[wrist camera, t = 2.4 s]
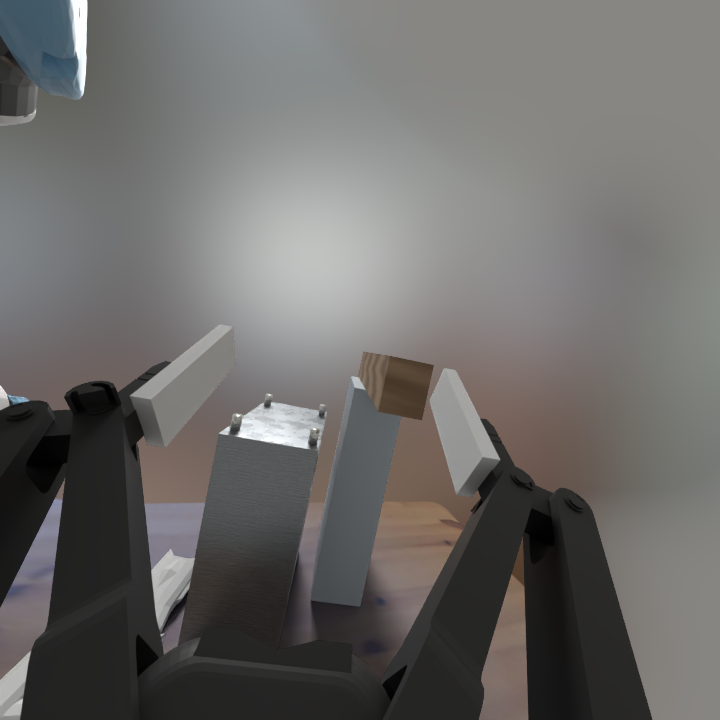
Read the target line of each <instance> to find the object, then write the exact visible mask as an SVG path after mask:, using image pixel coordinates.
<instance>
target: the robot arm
mask: <svg viewBox="0 0 720 720" xmlns="http://www.w3.org/2000/svg"><path fill="white" fill-rule="evenodd" d="M86 21H87V0H0V126H3V125H12V124H21V123H26V122H30V121H31V120H32V119H33V118H34V117H35V114H36V107H37V94H38V87H39V88H41V89H42V90H44V91H45V92H47V93H49V94H51V95H62V96H64V97H67V98H70V99H73V100H74V99H76V100H77V99H80V98H81V97H82V95H83V93H84V84H85V75H86V31H87V27H86ZM235 363H236V362H235V348H234V332H233V327H231V326H226V325H221V324H220V325H219V326H217V327H216V328H215V329H214V330H212V331H211V332H210V333H209V334H207V335H206V336H205V337H203V338H202V339H201V340H200V341H198V342H197V343H196V344H195V345H193V346H192V347H191V348H190V349H188V350H187V351H186V352H185V353H183V354H182V355H181V356H180V357H178V358H177V359H176V360H174V361H173V362H167V361H165V362H162V363H160V364H158V365H155V366H153V367H152V368H150V369H149V370H148V371H146V372H145V374H142V375H141V376H140V377H138V379H135V380H134V381H133V382H131V383H130V384H129V385H127V386H126V387H125V388H123V389H122V390H121V391H119V392H118V393H117V390H116V388H115V386H114V384H113V383H110V382H107V381H94V382H89V383H84V384H81V385H79V386H76V387H74V388H72V389H71V390H70V391H68V392H67V393H66V395H65V397H64V398H65V400H66V402H67V404H68V406H69V407H70V409H71V410H56V411H52V410H51V408H50V406H49V405H48V404H47V403H46V402H43V401H29V400H28V399H27V398H24V397H15V396H13V395H7V394H6V392H5V391H4V390H3V388H2V387H1V386H0V607H1V605H2V603H3V601H4V599H5V597H6V595H7V593H8V591H9V589H10V587H11V585H12V583H13V581H14V579H15V577H16V575H17V573H18V571H19V569H20V567H21V565H22V563H23V561H24V559H25V557H26V555H27V553H28V551H29V549H30V547H31V545H32V543H33V541H34V539H35V537H36V535H37V533H38V531H39V529H40V527H41V525H42V523H43V521H44V519H45V517H46V515H47V513H48V511H49V509H50V507H51V505H52V503H53V501H54V499H55V497H56V495H57V493H58V491H59V489H60V487H61V485H62V483H63V481H64V479H65V486H64V494H63V502H62V510H61V519H60V527H59V535H58V543H57V552H56V560H55V568H54V576H53V584H52V593H51V601H50V609H49V617H48V623H47V627H46V629H45V632H44V633H43V634H42V635H41V636H40V637H39V638H38V639H36V641H35V643H34V645H33V647H32V650H31V654H30V658H29V662H28V669H27V675H26V682H25V689H24V695H23V702H22V709H21V715H20V720H479V716H480V713H481V709H482V704H483V699H484V687H483V685H482V682H481V675H482V671H483V667H484V664H485V660H486V657H487V654H488V651H489V647H490V644H491V641H492V637H493V634H494V631H495V627H496V624H497V621H498V617H499V614H500V611H501V607H502V604H503V601H504V597H505V594H506V591H507V587H508V584H509V581H510V577H511V574H512V570H513V567H514V563H515V560H516V557H517V554H518V551H519V547H520V544H521V540H522V537H523V551H524V582H525V583H524V584H525V617H526V650H527V682H528V715H529V720H652V717H651V713H650V710H649V706H648V703H647V699H646V696H645V692H644V689H643V685H642V682H641V678H640V675H639V672H638V668H637V664H636V661H635V658H634V654H633V650H632V647H631V644H630V640H629V637H628V633H627V630H626V626H625V623H624V619H623V616H622V612H621V609H620V606H619V602H618V598H617V595H616V591H615V588H614V584H613V581H612V578H611V574H610V571H609V567H608V563H607V560H606V557H605V553H604V550H603V546H602V542H601V539H600V535H599V532H598V528H597V525H596V522H595V518H594V515H593V512H592V510H591V508H590V506H589V505H588V504H587V503H586V501H585V500H584V499H582V498H581V497H580V496H579V495H578V494H576V493H574V492H573V491H571V490H568V489H566V488H559V489H558V490H556V491H555V492H554V493H552V492H549V491H547V490H545V489H542V488H540V487H538V486H536V485H535V483H534V481H533V480H532V479H531V477H530V476H529V475H528V474H527V473H525V472H524V471H523V470H521V469H519V468H517V467H515V466H514V463H513V461H512V460H511V458H510V456H509V454H508V452H507V450H506V449H505V447H504V445H503V444H502V441H501V440H500V437H498V434H497V432H496V430H495V428H494V427H493V426H492V425H491V424H490V423H489V422H488V421H487V420H486V419H481V418H479V416H478V414H477V412H476V410H475V408H474V406H473V404H472V402H471V400H470V398H469V396H468V394H467V392H466V390H465V388H464V386H463V384H462V382H461V380H460V378H459V376H458V374H457V372H456V371H455V370H451V369H446V368H444V370H443V372H442V374H441V377H440V379H439V381H438V383H437V385H436V388H435V390H434V392H433V395H432V397H431V399H430V404H431V408H432V411H433V415H434V418H435V422H436V425H437V429H438V432H439V436H440V439H441V443H442V446H443V450H444V453H445V457H446V460H447V464H448V467H449V471H450V474H451V477H452V480H453V485H454V488H455V492H456V494H457V495H461V496H468V497H473V495H474V494H475V493H476V491H477V490H478V491H479V494H480V496H481V499H480V500H479V501H478V502H477V504H476V505H475V506H474V507H473V509H472V510H471V511H472V514H471V516H470V518H469V520H468V522H467V523H466V525H465V527H464V529H463V531H462V533H461V535H460V537H459V539H458V540H457V542H456V544H455V546H454V548H453V550H452V552H451V554H450V556H449V558H448V559H447V561H446V563H445V565H444V567H443V569H442V571H441V573H440V575H439V577H438V578H437V580H436V582H435V584H434V586H433V588H432V590H431V592H430V594H429V596H428V597H427V599H426V601H425V603H424V605H423V607H422V609H421V611H420V613H419V614H418V616H417V618H416V620H415V622H414V624H413V626H412V628H411V630H410V632H409V633H408V635H407V637H406V639H405V641H404V643H403V645H402V646H401V648H400V650H399V651H398V653H397V654H396V656H395V657H394V659H393V660H392V662H391V663H390V665H389V667H388V669H387V670H386V672H385V674H384V676H383V678H382V680H381V681H379V679H378V678H377V677H376V675H375V674H374V673H373V671H372V670H371V669H370V668H369V667H368V666H367V665H366V664H365V663H364V662H363V661H362V660H360V659H359V658H358V657H356V656H355V655H353V654H352V644H345V643H336V642H328V641H319V640H316V641H313V642H309V643H305V644H301V645H297V646H293V647H290V648H286V649H282V650H275V649H273V648H271V647H269V646H267V645H265V644H264V643H262V642H260V641H258V640H256V639H255V638H253V637H251V636H249V635H248V634H246V633H244V632H242V631H234V630H226V629H217V628H209V627H205V628H204V631H203V633H202V636H201V637H199V638H195V639H192V640H190V641H187V642H185V643H183V644H181V645H179V646H177V647H175V648H174V649H172V650H170V651H169V652H167V653H166V654H165V655H164V654H163V646H162V639H161V634H160V630H159V627H158V623H157V618H156V611H155V602H154V592H153V583H152V573H151V563H150V554H149V544H148V535H147V525H146V516H145V506H144V496H143V488H142V477H141V468H140V458H139V449H138V445H137V442H138V441H139V440H140V439H141V438H142V437H143V436H144V437H145V440H146V443H147V445H152V446H159V447H164V448H165V447H166V446H167V445H168V444H169V443H170V442H171V441H172V439H173V438H174V437H175V436H176V435H177V433H178V432H179V431H180V430H181V429H182V428H183V426H184V425H185V424H186V423H187V422H188V421H189V419H190V418H191V417H192V416H193V415H194V413H195V412H196V411H197V410H198V409H199V407H200V406H201V405H202V404H203V403H204V402H205V401H206V399H207V398H208V397H209V396H210V394H211V393H212V392H213V391H214V390H215V389H216V387H217V386H218V385H219V384H220V383H221V382H222V380H223V379H224V378H225V377H226V376H227V375H228V373H229V372H230V371H231V370H232V369H233V367H234V366H235V365H236V364H235Z"/></svg>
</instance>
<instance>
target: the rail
mask: <svg viewBox="0 0 720 720" xmlns="http://www.w3.org/2000/svg"><path fill="white" fill-rule="evenodd" d="M432 371H433V365H430V364H426V363H421V362H416V361H411V360H407V359H402V358H397V357H392V356H387V355H380V354H374V353H368V352H363V356H362V361H361V366H360V371H359V375H358V376H359V379H360V381H361V382H362V384H363V386H364V388H365V390H366V391H367V393H368V395H369V397H370V398H371V400H372V402H373V404H374V405H375V407H376V409H377V411H378V412H382V413H387V414H392V415H398V416H403V417H408V418H413V419H418V420H422V416H423V412H424V408H425V403H426V398H427V394H428V389H429V385H430V380H431V375H432Z"/></svg>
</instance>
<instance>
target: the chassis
mask: <svg viewBox="0 0 720 720" xmlns="http://www.w3.org/2000/svg"><path fill="white" fill-rule="evenodd" d="M272 397H273V395H271V394H266V397H265V402H264V403H263V404H261V405H259V406H258V407H256V408H255V409H254V410H252V411H251V412H249V413H248V414H246V415H245V416H243V415H242V414H233V416H232V422H231V425H230V426H229V427H227V428H226V429H225V430H223V431H222V432H220V433H219V435H218V440H217V445H216V451H215V456H214V461H213V466H212V472H211V477H210V482H209V487H208V492H207V497H206V503H205V508H204V513H203V518H202V523H201V529H200V534H199V539H198V544H197V549H196V555H195V560H194V565H193V570H192V575H191V581H190V586H189V591H188V596H187V601H186V607H185V612H184V617H183V622H182V627H181V633H180V638H179V643H178V646H179V645H181V644H183V643H185V642H187V641H190V640H192V639H195V638H199V637H201V636H202V633H203V631H204V628H205V627H209V628H217V629H226V630H234V631H242V632H244V633H246V634H248V635H249V636H251V637H253V638H255V639H256V640H258V641H260V642H262V643H264V644H265V645H267V646H269V647H271V648H273V649H275V650H278V645H279V640H280V636H281V631H282V626H283V622H284V617H285V612H286V608H287V603H288V598H289V594H290V589H291V584H292V580H293V575H294V570H295V566H296V561H297V556H298V552H299V547H300V542H301V537H302V532H303V527H304V523H305V518H306V513H307V508H308V503H309V498H310V493H311V489H312V484H313V479H314V474H315V469H316V464H317V459H318V454H319V450H320V444H321V440H322V435H323V430H324V425H325V420H326V415H327V412H325V410H326V405H324V404H321V405H320V408H319V411H318V410H312V409H307V408H302V407H297V406H291V405H286V404H281V403H275V402H272Z"/></svg>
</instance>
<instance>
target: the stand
mask: <svg viewBox="0 0 720 720" xmlns="http://www.w3.org/2000/svg"><path fill="white" fill-rule="evenodd" d="M400 418H401V416H398V415H392V414H387V413H382V412H378V411H377V409H376V407H375V405H374V404H373V402H372V400H371V398H370V397H369V395H368V393H367V391H366V390H365V388H364V386H363V384H362V382H361V381H360V379H359V378H357V377H352V376H351V379H350V384H349V389H348V394H347V398H346V403H345V408H344V413H343V418H342V423H341V428H340V433H339V437H338V442H337V447H336V452H335V457H334V461H333V466H332V472H331V476H330V480H329V485H328V490H327V495H326V500H325V505H324V509H323V514H322V519H321V524H320V529H319V537H318V544H317V552H316V560H315V568H314V576H313V584H312V592H311V601H319V602H326V603H334V604H342V605H350V606H357V607H360V605H361V601H362V596H363V591H364V587H365V582H366V577H367V573H368V568H369V563H370V559H371V554H372V549H373V545H374V540H375V535H376V531H377V526H378V521H379V517H380V512H381V507H382V503H383V498H384V493H385V488H386V484H387V479H388V475H389V470H390V465H391V461H392V456H393V451H394V447H395V442H396V437H397V433H398V428H399V423H400Z"/></svg>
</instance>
